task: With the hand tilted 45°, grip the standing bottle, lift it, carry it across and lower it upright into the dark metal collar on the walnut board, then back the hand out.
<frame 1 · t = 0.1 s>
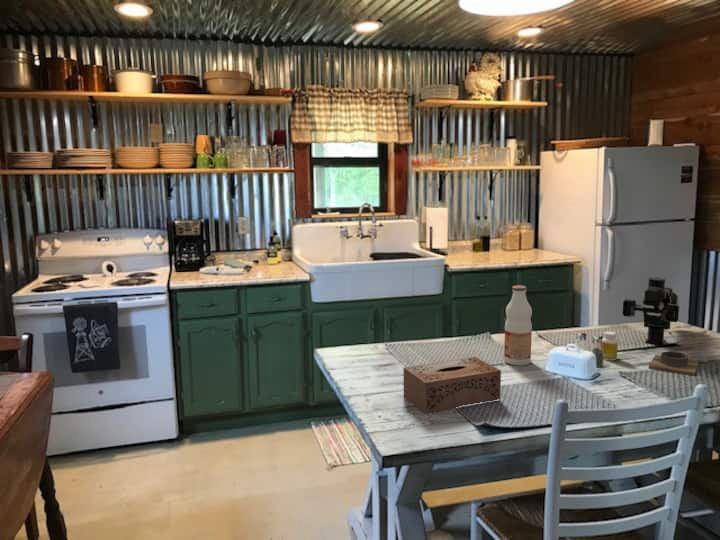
hand: (646, 315, 214), 17 cm above the table, tool horizontal, fingers open, 9 cm apart
supplement bottle: (608, 358, 219), on the table
bottle holder: (673, 365, 210), on the table
fruit juice: (517, 362, 217), on the table
tissue box cover: (451, 400, 185), on the table
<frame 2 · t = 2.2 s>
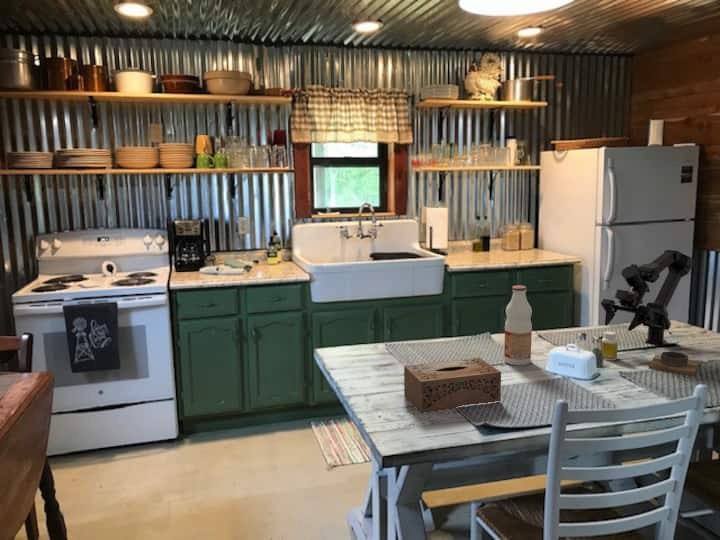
hand: (616, 327, 220), 11 cm above the table, tool tilted 45°, fingers open, 9 cm apart
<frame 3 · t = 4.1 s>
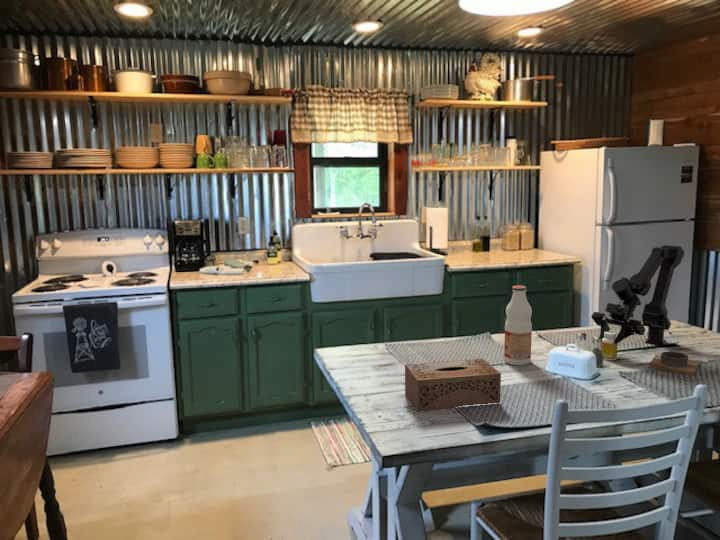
hand: (607, 341, 217), 7 cm above the table, tool tilted 45°, fingers closed on supplement bottle, 5 cm apart
supplement bottle: (608, 358, 219), on the table, touching gripper
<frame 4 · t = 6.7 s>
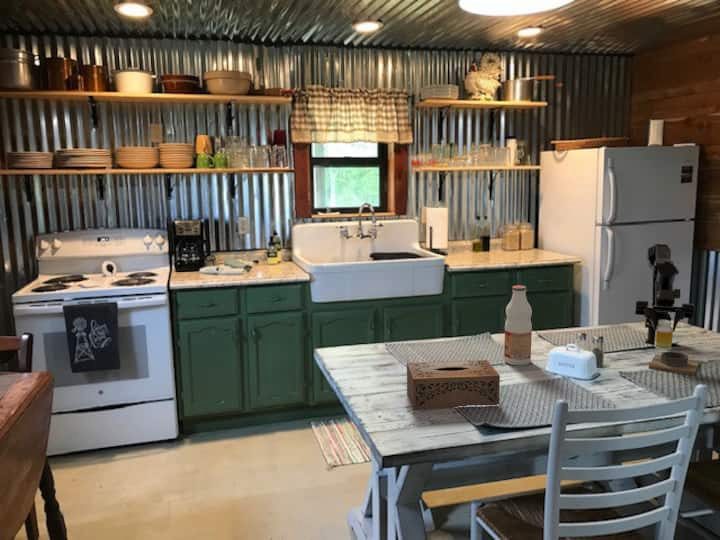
hand: (664, 330, 207), 13 cm above the table, tool tilted 45°, fingers closed on supplement bottle, 5 cm apart
supplement bottle: (662, 348, 210), point 6 cm above the table, touching gripper
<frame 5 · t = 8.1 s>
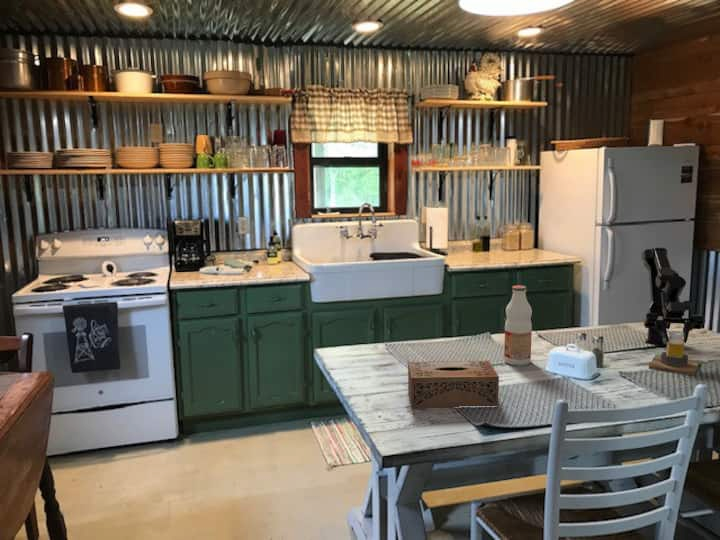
hand: (676, 342, 207), 9 cm above the table, tool tilted 45°, fingers closed on supplement bottle, 5 cm apart
supplement bottle: (674, 360, 210), point 2 cm above the table, touching gripper
when the fingers open (8 cm above the table, at t = 9.4 s): supplement bottle stays where it is, resting on bottle holder.
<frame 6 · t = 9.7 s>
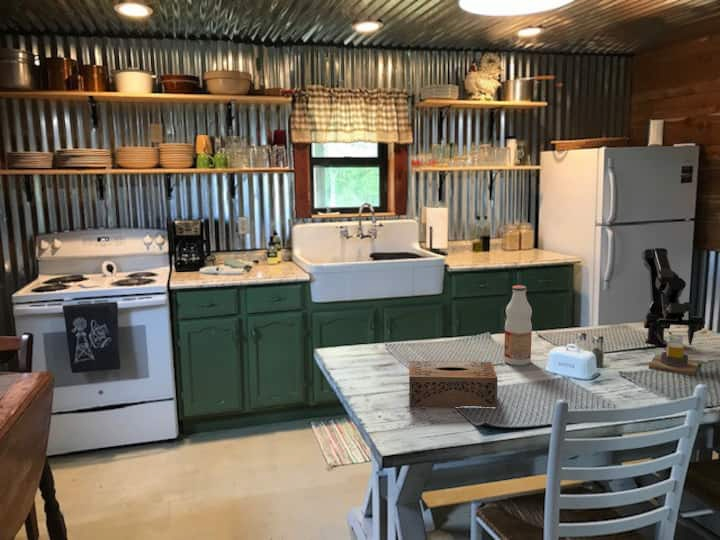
hand: (676, 343, 207), 9 cm above the table, tool tilted 45°, fingers open, 8 cm apart
supplement bottle: (673, 363, 210), point 1 cm above the table, touching bottle holder
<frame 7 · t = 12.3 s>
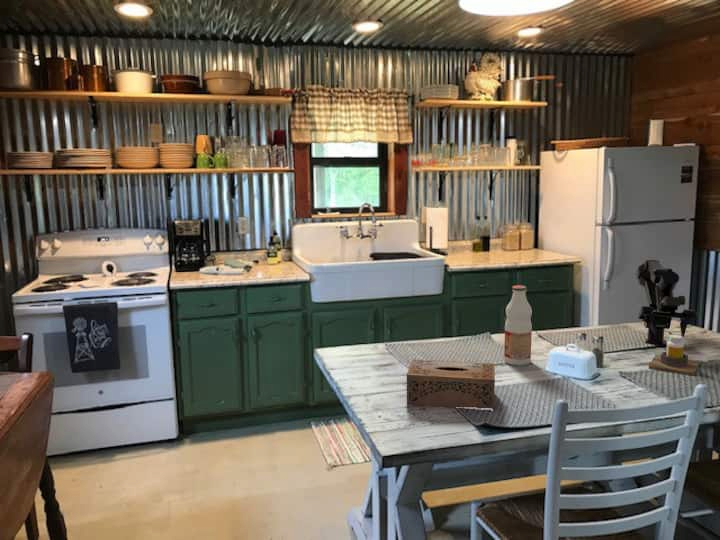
hand: (669, 335, 216), 9 cm above the table, tool tilted 45°, fingers open, 9 cm apart
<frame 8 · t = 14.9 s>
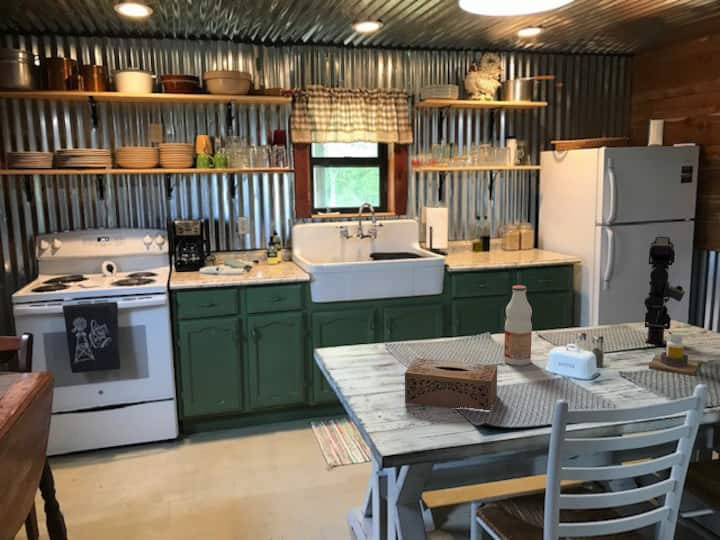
hand: (656, 320, 221), 13 cm above the table, tool pointing down, fingers open, 9 cm apart
at the end: supplement bottle 0.2 cm off-centre on the bottle holder, point 0.8 cm above the bottle holder's base; supplement bottle tilted 0°; the gripper is holding nothing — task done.
